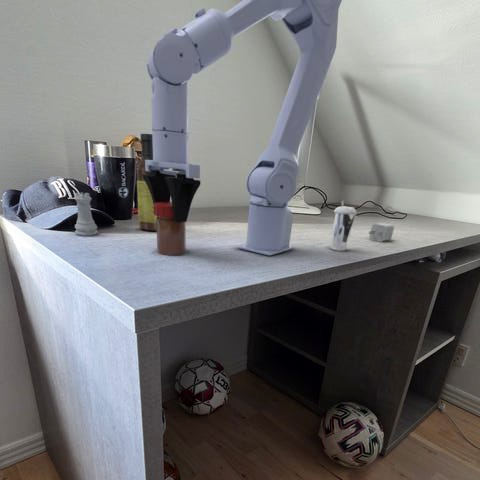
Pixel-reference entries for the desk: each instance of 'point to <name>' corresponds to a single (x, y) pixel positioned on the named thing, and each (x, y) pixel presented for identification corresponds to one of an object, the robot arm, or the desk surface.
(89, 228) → the rook chess piece
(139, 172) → the sauce bottle
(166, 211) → the cap
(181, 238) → the jar
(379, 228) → the usb wall charger
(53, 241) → the desk surface
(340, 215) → the milkshake
